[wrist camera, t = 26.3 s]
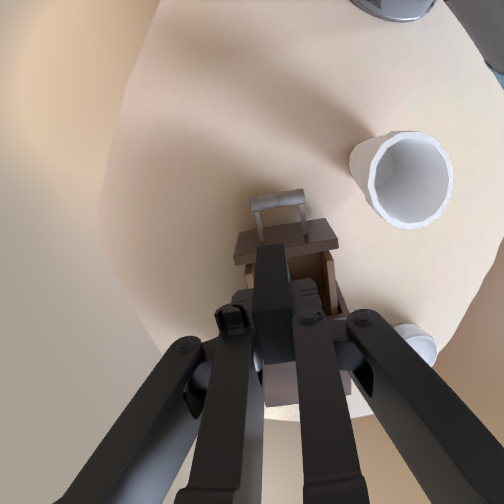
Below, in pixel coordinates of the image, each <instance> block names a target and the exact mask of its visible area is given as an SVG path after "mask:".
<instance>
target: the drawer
mask: <svg viewBox="0 0 504 504" xmlns="http://www.w3.org/2000/svg"><path fill="white" fill-rule="evenodd" d="M249 201H250V207H251V211H252V212H254V215H255V220H256V225H257V230H251V231H246V232H240V233H239V235H238V239H237V243H236V248H235V252H234V256H233V257H234V261H235V265H236V266H237V265H243V264H246V268H245V279H246V283H247V288H248V289H251V288H254V276H255V265H256V254H257V247H259V246H265V245H271V244H277V243H282V242H284V247H285V252H286V258H287V264H288V269H289V275H290V281H295V280H301V279H306V278H310V279H312V280H313V281H314V282H315V283H316V286H317V290H318V294H319V298H320V301H321V305H322V309H323V312H324V313H325V315H326V316H330V315H335V314H338V306H337V293H336V282H335V271H334V260H333V258H332V256H331V254H330V252H329V250H333V249H338V248H339V245H338V238H337V237H336V235H335V233H334V232H333V230H332V228H331V227H330V225H329V223H328V222H327V220H326V218H322V219H316V220H310V221H306V215H305V208H304V203H305V195H304V190H303V189H296V190H290V191H285V192H279V193H273V194H267V195H262V196H256V197H251V198H249ZM294 204H298V207H299V213H300V219H301V222H298V223H292V224H286V225H280V226H274V227H269V228H263V226H262V221H261V216H260V210H265V209H271V208H277V207H283V206H288V205H294Z"/></svg>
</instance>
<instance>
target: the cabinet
mask: <svg viewBox="0 0 504 504" xmlns="http://www.w3.org/2000/svg"><path fill="white" fill-rule="evenodd" d="M335 282H336V293H337V306H338V314H335V315H330V316H328V317H329V318H332V319H337V320H346V318H347V316H348V315H349V311H348V309H347V306H346V303H345V301H344V298H343V296H342V294H341V291H340V289H339V286H338V284H337V281H336V279H335ZM263 369H264V373H265V386H264V401H265V405H266V407H275V406H283V405H291V404H298V403H299V397H298V385H297V373H296V361H294V362H287V363H280V364H272V365H264V361H263ZM340 374H341V379H342V383H343V387H344V392H345V396H346V395H351V377H350V376H349V373H348V371H343V370H340Z"/></svg>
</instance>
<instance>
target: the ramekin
mask: <svg viewBox="0 0 504 504" xmlns="http://www.w3.org/2000/svg"><path fill="white" fill-rule="evenodd" d="M393 328H394V329H395V330H396V331H397V332H398V333H399V335H400V336H401V337H402V338H403V339H404V340H405V341H406V342H407V343H408V344H409V345H410V346H411V347H412V348H413V349H414V350H415V351H416V352H417V353H418V354H419V355H420V356H421V357H422V358H423V359H424V360H425V361H426V362H427V363H428V364H429V366H430V367H431V366H432V365H433V364H434V362H435V360H436V357H437V353H438V346H437V343H436V341H435V340H434V338H433V337H432V336H430V335H429V334H427V333H426V332H425V331H424V330H423V329H421V328H420V327H419V326H417V325H415V324H401V325H397V326H395V327H393Z"/></svg>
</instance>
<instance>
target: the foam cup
mask: <svg viewBox="0 0 504 504" xmlns="http://www.w3.org/2000/svg"><path fill="white" fill-rule="evenodd" d="M349 168H350V171H351V175H352V177H353V178H354V180H355V181H356V183H357V184H358V186H359V187H360V189H361V190H362V192H363V193H364V195H365V198H366V201H367V202H368V204H369V205H370V206H371V207H372V208H373V209H374V210H375V211H376V213H377V214H378V215H379V216H380V217H381V218H382V219H384V220H385V221H386V222H387V223H389V224H392V225H394V226H397V227H399V228H402V229H404V230H406V229H414V228H422V227H425V226H426V225H428V224H429V223H431V222H432V221H434V220H435V219H436V218H438V217H439V216H440V215H441V213H442V212H443V210H444V208H445V207H446V205H447V204H448V202H449V200H450V198H451V192H452V187H453V181H454V177H453V172H452V167H451V162H450V158H449V156H448V155H447V153H446V152H445V151H444V149H443V148H442V146H441V145H440V143H439V142H438V141H436V140H435V139H433V138H431V137H429V136H427V135H426V134H424V133H422V132H417V131H391V132H389V133H388V134H386V135H383V136H379V137H375V138H371V139H368V140H365V141H363V142H361V143H359V144H358V145H356V146H355V147H354V149H353V150H352V152H351V154H350V157H349Z"/></svg>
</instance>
